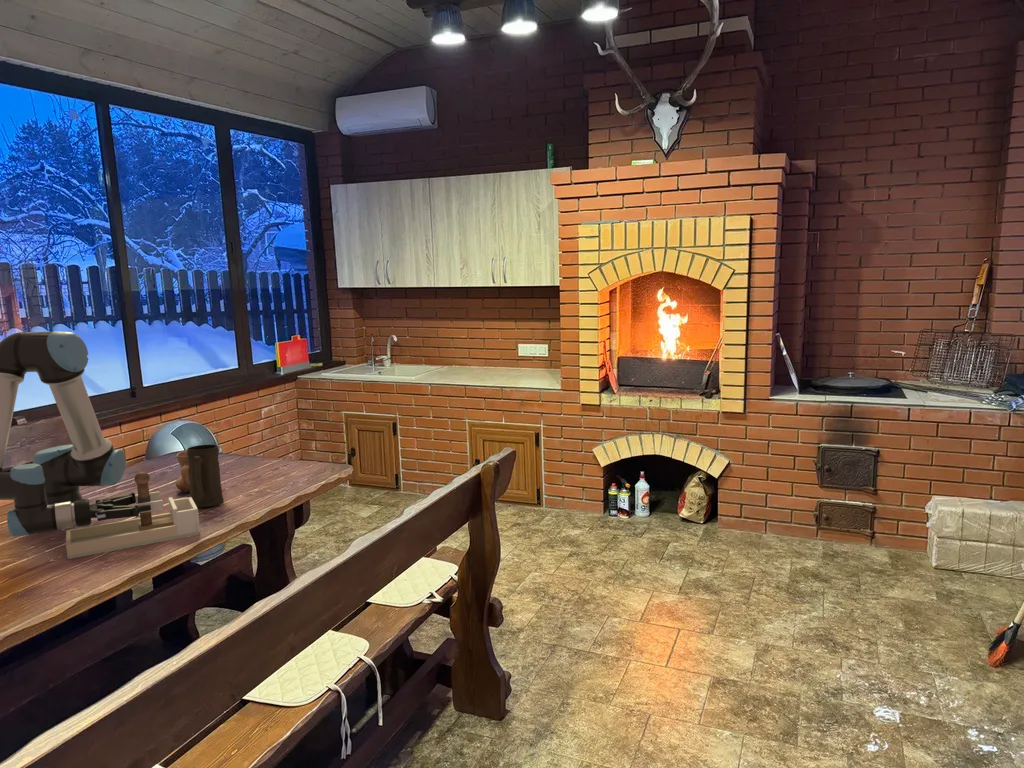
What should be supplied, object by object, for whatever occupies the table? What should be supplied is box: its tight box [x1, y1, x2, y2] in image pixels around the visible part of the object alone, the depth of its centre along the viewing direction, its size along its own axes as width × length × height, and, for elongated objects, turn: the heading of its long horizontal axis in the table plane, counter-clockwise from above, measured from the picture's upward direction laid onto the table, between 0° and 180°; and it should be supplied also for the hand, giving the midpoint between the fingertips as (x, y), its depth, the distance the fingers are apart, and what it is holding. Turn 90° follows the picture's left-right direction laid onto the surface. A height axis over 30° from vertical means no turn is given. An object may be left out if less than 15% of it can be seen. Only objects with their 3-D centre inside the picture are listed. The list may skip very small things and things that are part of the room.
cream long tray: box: [65, 496, 201, 560], centre depth 211 cm, size 14×34×9 cm, turn 121°
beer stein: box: [186, 444, 225, 508], centre depth 239 cm, size 15×11×20 cm
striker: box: [134, 471, 174, 531], centre depth 213 cm, size 5×10×19 cm, turn 121°
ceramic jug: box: [175, 449, 190, 493], centre depth 258 cm, size 18×14×14 cm
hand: (161, 500), depth 214 cm, fingers open, 9 cm apart
